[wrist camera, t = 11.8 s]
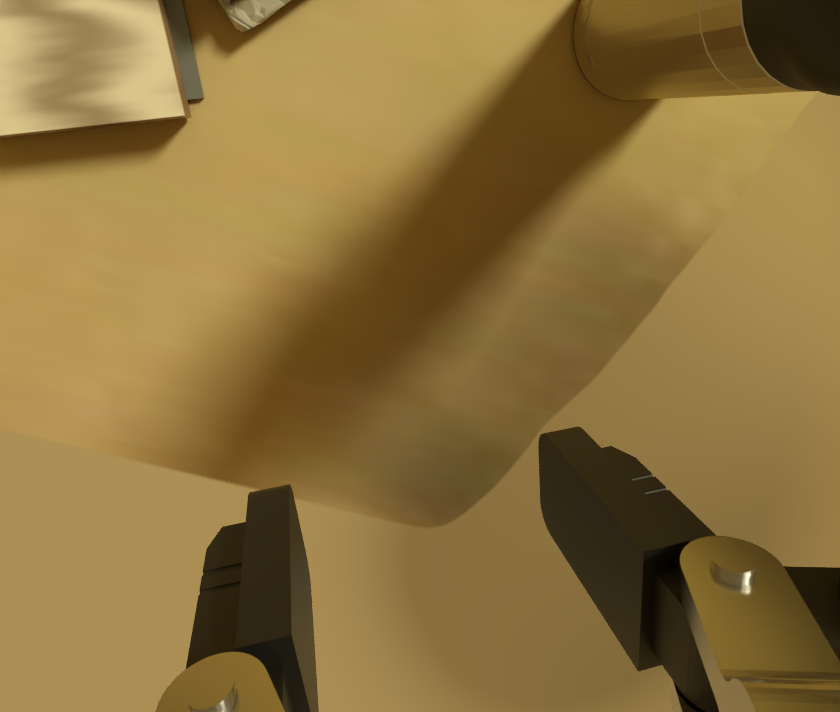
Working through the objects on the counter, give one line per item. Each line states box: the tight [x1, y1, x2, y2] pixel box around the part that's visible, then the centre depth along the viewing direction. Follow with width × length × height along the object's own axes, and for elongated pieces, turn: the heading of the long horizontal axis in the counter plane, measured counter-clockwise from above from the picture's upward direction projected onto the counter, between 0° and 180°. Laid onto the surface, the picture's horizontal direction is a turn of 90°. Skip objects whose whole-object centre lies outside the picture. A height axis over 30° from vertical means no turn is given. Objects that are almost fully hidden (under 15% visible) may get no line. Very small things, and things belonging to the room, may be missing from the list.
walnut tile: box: [0, 0, 191, 138], centre depth 35 cm, size 12×3×12 cm
